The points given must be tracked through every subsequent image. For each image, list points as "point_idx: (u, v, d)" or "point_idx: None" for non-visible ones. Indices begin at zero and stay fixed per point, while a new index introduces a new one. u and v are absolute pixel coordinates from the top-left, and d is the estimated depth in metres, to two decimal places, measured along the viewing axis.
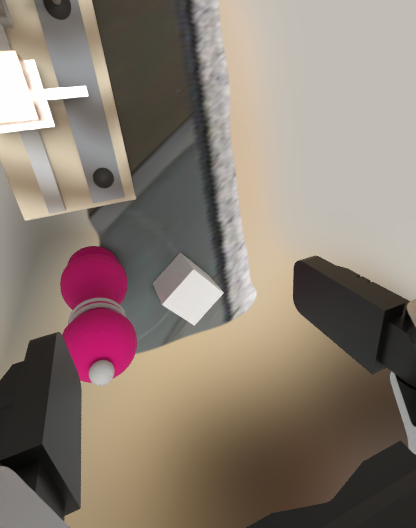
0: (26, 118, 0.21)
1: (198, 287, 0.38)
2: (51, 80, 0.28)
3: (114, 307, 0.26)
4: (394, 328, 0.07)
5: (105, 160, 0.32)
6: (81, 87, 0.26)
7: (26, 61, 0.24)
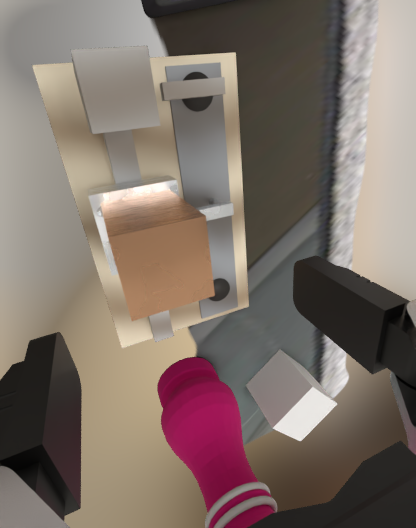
0: (200, 298, 0.14)
1: (313, 403, 0.31)
2: None
3: (269, 500, 0.20)
4: (394, 328, 0.07)
5: (223, 270, 0.25)
6: (227, 205, 0.19)
7: (167, 182, 0.17)
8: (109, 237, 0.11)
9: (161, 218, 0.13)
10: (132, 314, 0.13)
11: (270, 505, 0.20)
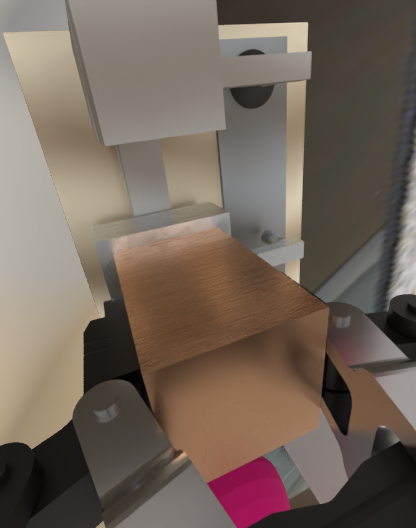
0: (296, 436, 0.08)
1: None
2: None
3: None
4: None
5: None
6: (296, 245, 0.13)
7: (215, 217, 0.11)
8: (144, 372, 0.05)
9: (237, 308, 0.07)
10: None
11: None
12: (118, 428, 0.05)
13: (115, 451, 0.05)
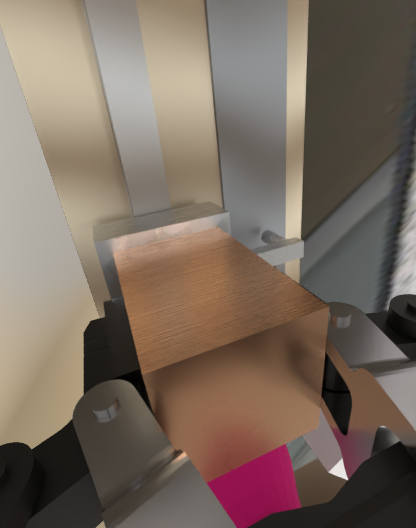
0: (296, 436, 0.08)
1: None
2: (201, 92, 0.12)
3: None
4: None
5: None
6: (296, 245, 0.13)
7: (215, 217, 0.11)
8: (144, 372, 0.05)
9: (237, 308, 0.07)
10: None
11: None
12: (118, 428, 0.05)
13: (115, 451, 0.05)
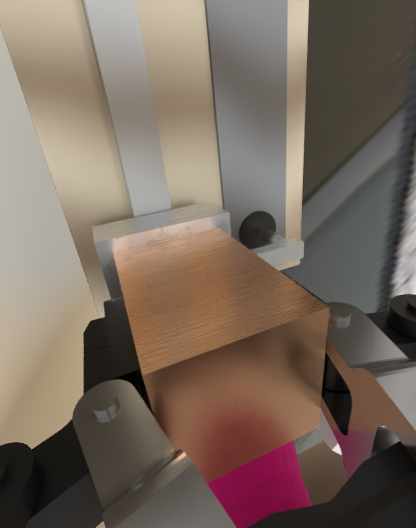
0: (296, 436, 0.08)
1: None
2: (193, 10, 0.11)
3: None
4: None
5: (267, 196, 0.15)
6: (296, 245, 0.13)
7: (215, 217, 0.11)
8: (144, 372, 0.05)
9: (237, 308, 0.07)
10: None
11: None
12: (118, 428, 0.05)
13: (115, 451, 0.05)
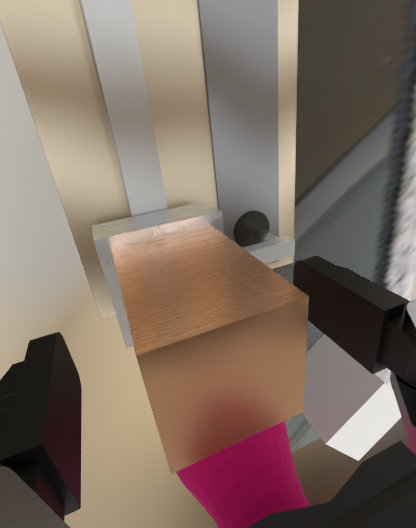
0: (282, 419, 0.08)
1: (381, 407, 0.22)
2: (187, 20, 0.12)
3: None
4: (394, 328, 0.07)
5: (260, 196, 0.16)
6: (287, 243, 0.14)
7: (209, 216, 0.12)
8: (138, 353, 0.06)
9: (224, 297, 0.07)
10: (172, 464, 0.07)
11: None
12: None
13: None
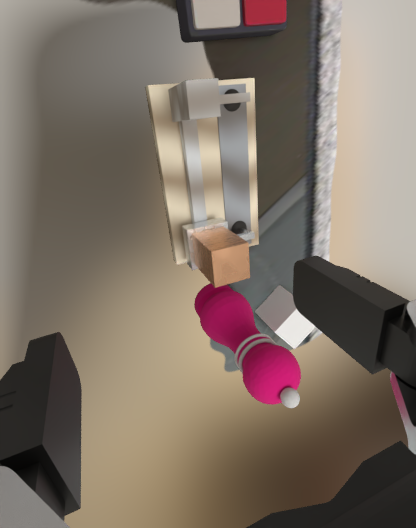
0: (243, 278, 0.31)
1: (303, 316, 0.44)
2: (216, 155, 0.34)
3: (273, 342, 0.33)
4: (394, 328, 0.07)
5: (242, 215, 0.38)
6: (251, 233, 0.36)
7: (223, 223, 0.34)
8: (211, 251, 0.28)
9: (229, 243, 0.30)
10: (215, 284, 0.30)
11: None
12: None
13: None
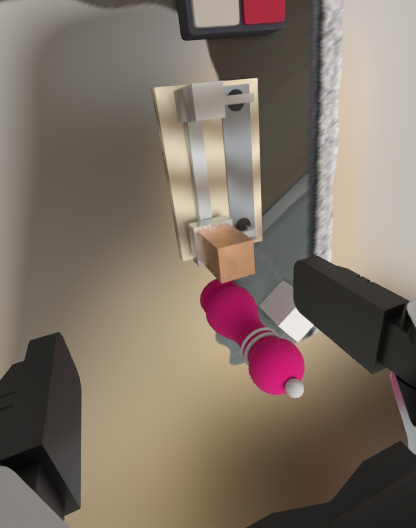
0: (248, 274, 0.32)
1: None
2: (220, 154, 0.35)
3: (277, 335, 0.34)
4: (394, 328, 0.07)
5: (246, 212, 0.39)
6: (255, 230, 0.37)
7: (227, 220, 0.35)
8: (218, 248, 0.29)
9: (234, 240, 0.31)
10: (221, 280, 0.31)
11: None
12: None
13: None
